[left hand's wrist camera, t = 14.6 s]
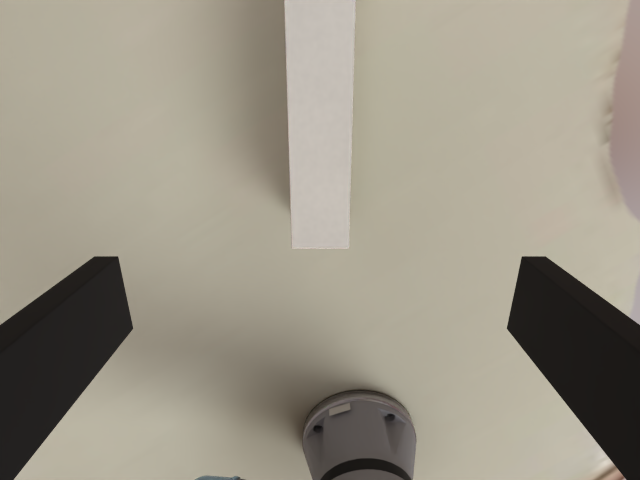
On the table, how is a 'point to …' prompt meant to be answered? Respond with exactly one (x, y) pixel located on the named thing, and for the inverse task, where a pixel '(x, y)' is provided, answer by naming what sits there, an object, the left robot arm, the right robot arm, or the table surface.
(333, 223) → the bar
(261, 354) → the table surface
